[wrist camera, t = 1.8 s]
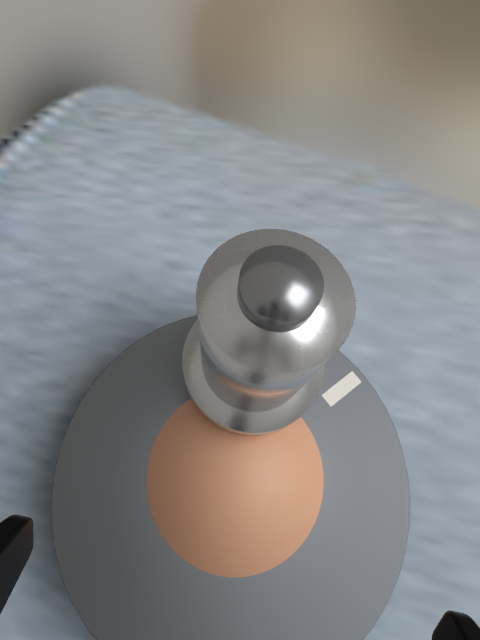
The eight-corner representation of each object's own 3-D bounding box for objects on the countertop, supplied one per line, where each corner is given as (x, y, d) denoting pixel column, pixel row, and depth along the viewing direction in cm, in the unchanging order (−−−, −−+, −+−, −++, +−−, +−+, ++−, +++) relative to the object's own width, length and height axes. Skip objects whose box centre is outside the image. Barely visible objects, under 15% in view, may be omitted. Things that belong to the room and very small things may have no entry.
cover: (237, 466, 19) (261, 454, 10) (157, 351, 21) (118, 254, 12) (344, 381, 22) (443, 308, 12) (262, 284, 24) (296, 159, 14)
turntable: (187, 808, 15) (186, 833, 14) (0, 435, 20) (-12, 432, 19) (467, 510, 20) (482, 512, 19) (263, 270, 25) (266, 261, 24)
